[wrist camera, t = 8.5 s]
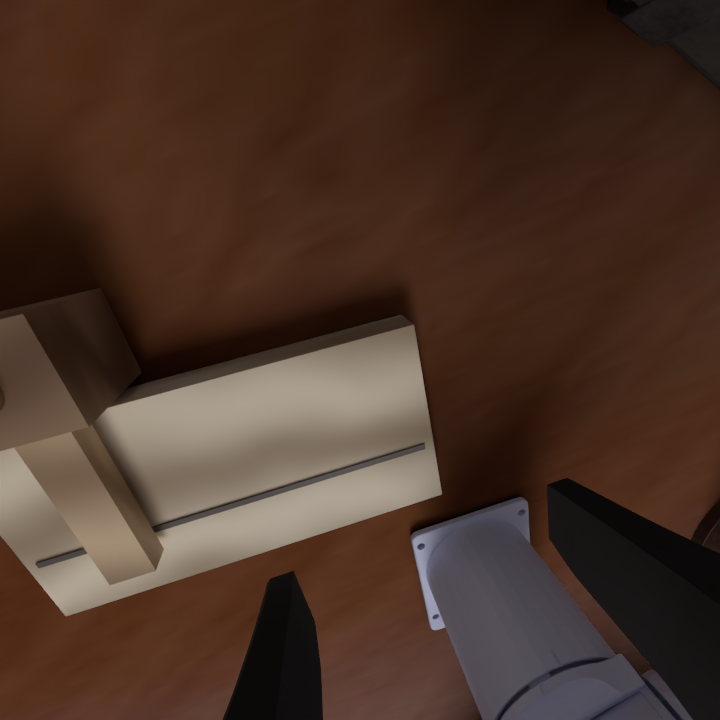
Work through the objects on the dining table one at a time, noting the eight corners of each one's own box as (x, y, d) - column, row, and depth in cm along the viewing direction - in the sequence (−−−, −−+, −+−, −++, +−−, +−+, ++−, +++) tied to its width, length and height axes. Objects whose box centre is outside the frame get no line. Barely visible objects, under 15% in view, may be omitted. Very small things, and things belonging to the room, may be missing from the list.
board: (428, 471, 22) (442, 495, 20) (86, 580, 20) (64, 618, 18) (400, 314, 18) (414, 325, 16) (-26, 428, 16) (-67, 456, 14)
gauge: (205, 502, 20) (177, 604, 15) (111, 531, 19) (46, 647, 14) (101, 287, 15) (3, 320, 10) (-26, 317, 15) (-199, 369, 10)
